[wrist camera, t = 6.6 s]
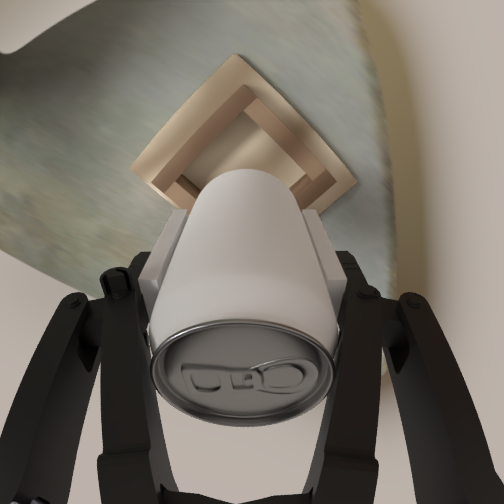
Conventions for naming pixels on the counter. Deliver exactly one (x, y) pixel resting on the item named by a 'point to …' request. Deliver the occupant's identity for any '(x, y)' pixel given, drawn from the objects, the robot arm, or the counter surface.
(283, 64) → the counter surface
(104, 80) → the counter surface
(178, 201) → the keeper board
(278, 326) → the can
